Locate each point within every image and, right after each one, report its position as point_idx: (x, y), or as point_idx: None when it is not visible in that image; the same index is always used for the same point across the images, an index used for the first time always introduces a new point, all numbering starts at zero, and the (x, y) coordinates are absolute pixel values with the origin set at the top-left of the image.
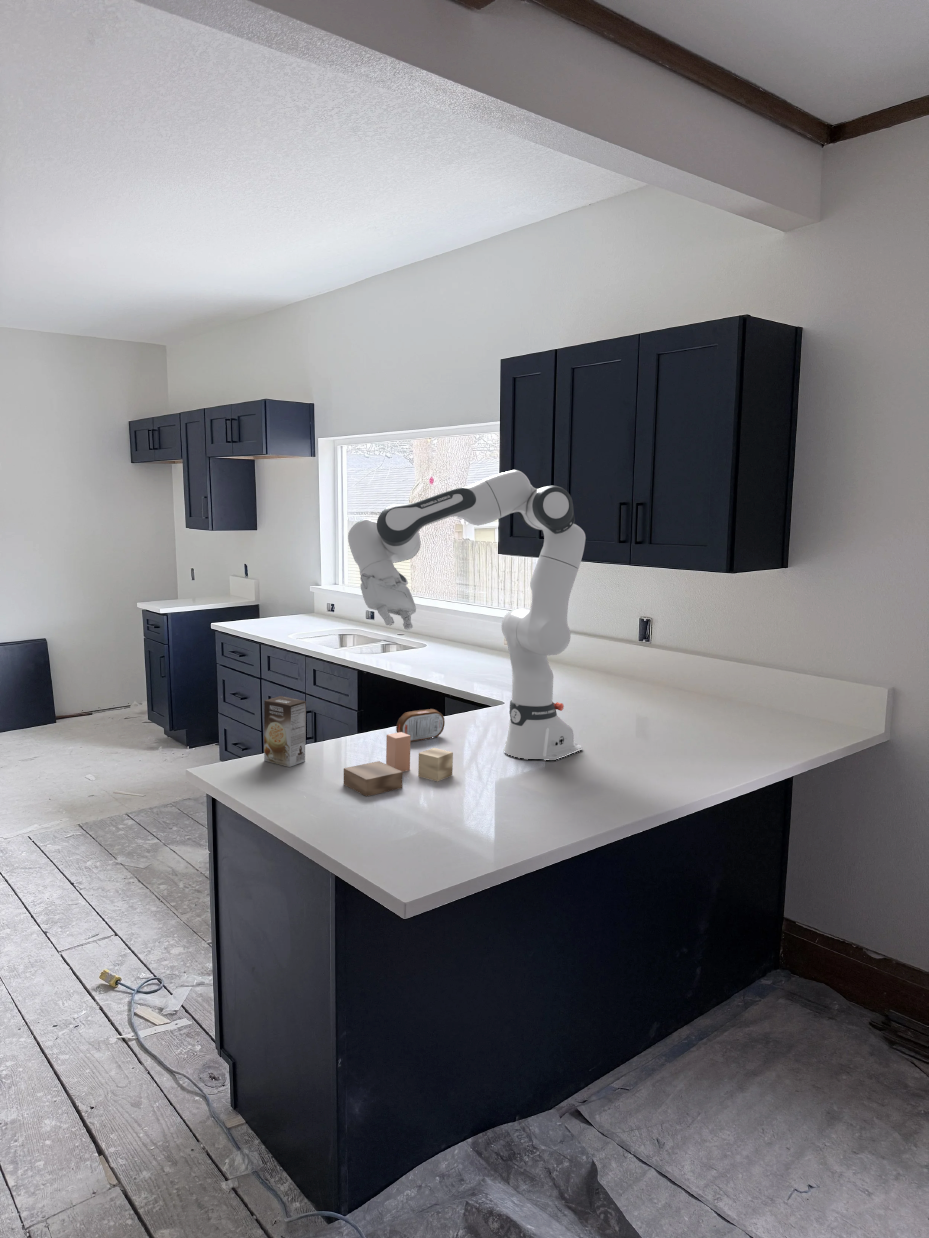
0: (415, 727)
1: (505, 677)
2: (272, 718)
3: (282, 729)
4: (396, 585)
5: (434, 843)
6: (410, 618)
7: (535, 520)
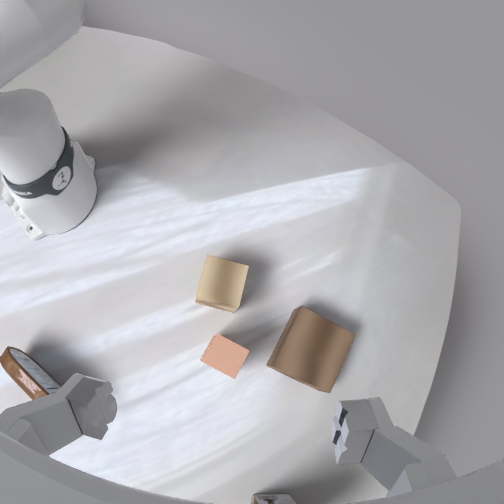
0: (54, 390)
1: None
2: None
3: None
4: None
5: (401, 212)
6: (36, 403)
7: None
